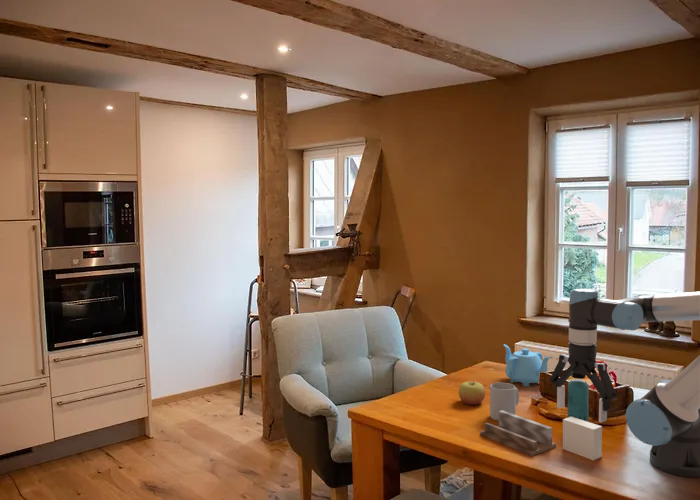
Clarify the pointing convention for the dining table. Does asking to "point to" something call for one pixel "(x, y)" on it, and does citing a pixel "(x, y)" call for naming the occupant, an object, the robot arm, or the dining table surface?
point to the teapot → (525, 366)
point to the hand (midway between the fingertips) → (581, 414)
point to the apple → (471, 392)
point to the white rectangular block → (582, 438)
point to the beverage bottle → (578, 397)
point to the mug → (503, 399)
